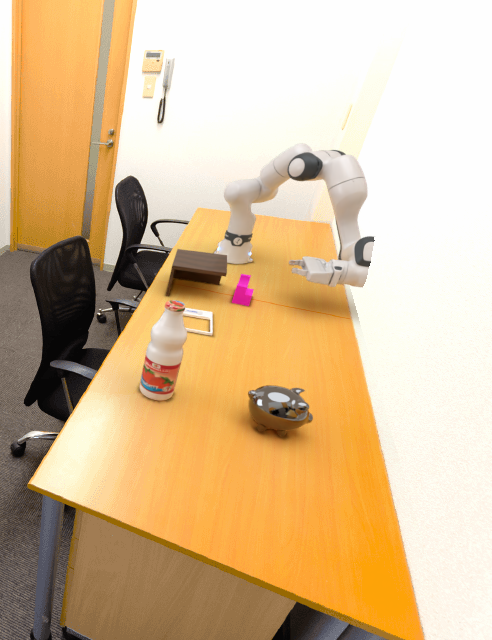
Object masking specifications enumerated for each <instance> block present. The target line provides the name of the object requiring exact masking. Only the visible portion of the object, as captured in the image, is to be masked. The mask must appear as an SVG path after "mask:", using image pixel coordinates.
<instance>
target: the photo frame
mask: <svg viewBox="0 0 492 640" xmlns="http://www.w3.org/2000/svg"><path fill="white" fill-rule="evenodd" d="M213 313H214V312H213V311H209V310H202V309H197V308H190V307H185V310H184V312H183V317H191V318H197V319H202V320H203V319H204V320H207V321H209V331H206V330H200V329H195V328H188V327H185V328H186V330H187V333H188V332H189V333H194V334H200V335H205V336H213V334H214V333H213V332H214V331H213V329H214V327H213V321H214V320H213V317H214V316H213Z"/></svg>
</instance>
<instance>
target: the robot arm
mask: <svg viewBox="0 0 492 640" xmlns="http://www.w3.org/2000/svg"><path fill="white" fill-rule="evenodd" d="M290 179H291V180H293V181H296V182H316V181H320V180H323V181H324V182H325V185H326V189H327V193H328V196H329V199H330V203H331V206H332V209H333V214H334V217H335V218H334V219H335V225H336V230H337V235H338V241H339V246H340V247H339V252H338V257H337V259H334V258H331V259H330V260H329V261H327V260H325V259H324V258H321V257H315V256H309V255H308V256H305V255H304V256H302V258H301V259H290V260H288V265H289V266H293V267H292V268H291V270H290V271H291V274H295V275H297V276H301V277H305V280H306V281H307V282H309V283H311V284H312V283H313V284H319V285H323V286H327V287H329V288H335V287H336V286H337V285H341V286H342V285H348V286H351V287H355V288H363V286H364V284H365V282H366V279H367V275H368V269H369V266H370V263H371V257H372V251H373V246H374V241H375V240H374V237H375V236H372V235H369V236H368V235H367V236H363V237H361V233H360V227H359V222H358V219H359V215H360V212H361V209H362V207H363V206H364V204H365V202H366V200H367V199H368V183H367V180H366V177H365V174H364V171H363V169H362V166H361V164H360V163H359V160H358V159H357V157H355V156H354V155H353V154H346V153H345V152H343V151H342V150H338V149H321V150H313V149H312V148H311V146H310V145H309V144H306V143H303V142H299V143H295V144H294V145H292V146H290V147H288V148H286V149H284V150H283V151H282V152H280V153H279V154H278V155H276V156H275V157H274V158H273V159H271V160H270V161H269V162H268V163H265V165H264V166H262V168H261V169H260V172H259V176H257V177H254V178H246V179H243V178H242V179H237V180H233V181H230V182H229V183H228V184H227V185H226V186H225V188H224V191H223V197H224V200H225V202H226V203H227V204H228V205H229V210H230V216H229V221H228V225H227V229H226V230H225V232H224V236H223V239H222V240H221V241H219V242H218V243H217V248H216V250H214V252H213V253H214V254H222V255H227V264H234V265H242V264H248V263H253V261H254V259H253V258H252V257H251V255H252V250H253V244H252V243H251V241H252V238H253V234H254V233H253V231H254V228H255V224H256V221H257V216H256V215H255V213H254V212H253V211H252V205H253V204H261V203H266V202H268V201H272V200H273V199H275V197H276V196H277V195H278V192H279V188H280V186H281V185H283V184H285V183H286V182H287V181H289V180H290ZM294 266H298V267H301V268H298V267H294Z"/></svg>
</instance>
